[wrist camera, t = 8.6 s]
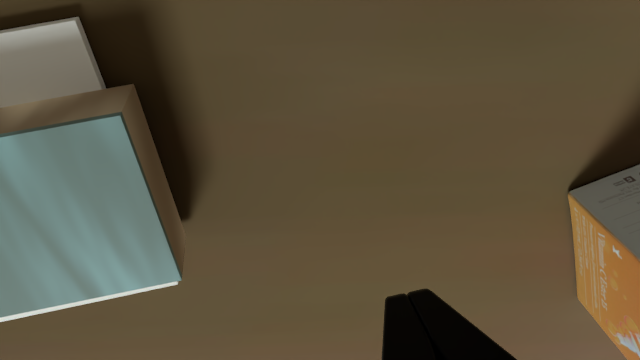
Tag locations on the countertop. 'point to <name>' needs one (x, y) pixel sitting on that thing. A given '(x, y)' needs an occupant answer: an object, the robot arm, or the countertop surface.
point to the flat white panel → (49, 83)
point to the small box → (610, 255)
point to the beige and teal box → (83, 202)
